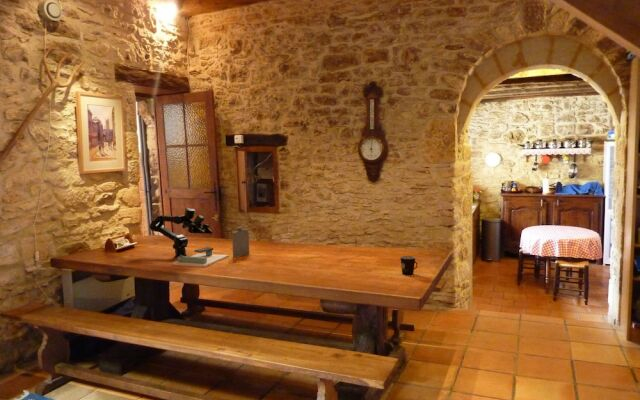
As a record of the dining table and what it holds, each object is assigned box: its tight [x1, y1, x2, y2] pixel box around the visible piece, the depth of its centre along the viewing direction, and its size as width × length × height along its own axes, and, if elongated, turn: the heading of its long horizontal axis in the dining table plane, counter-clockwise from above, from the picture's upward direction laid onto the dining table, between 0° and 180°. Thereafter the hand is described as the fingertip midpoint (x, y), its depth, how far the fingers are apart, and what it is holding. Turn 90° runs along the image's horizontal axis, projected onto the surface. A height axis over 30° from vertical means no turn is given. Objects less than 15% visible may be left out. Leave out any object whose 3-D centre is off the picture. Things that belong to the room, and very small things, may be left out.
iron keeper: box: [194, 246, 214, 256], centre depth 337 cm, size 12×6×5 cm, turn 144°
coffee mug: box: [400, 255, 418, 276], centre depth 283 cm, size 12×9×10 cm
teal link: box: [177, 255, 207, 263], centre depth 319 cm, size 20×4×4 cm, turn 72°
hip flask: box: [231, 226, 250, 258], centre depth 343 cm, size 16×4×20 cm, turn 150°
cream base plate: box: [172, 252, 229, 268], centre depth 329 cm, size 24×31×1 cm
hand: (208, 232), depth 329 cm, fingers open, 9 cm apart
